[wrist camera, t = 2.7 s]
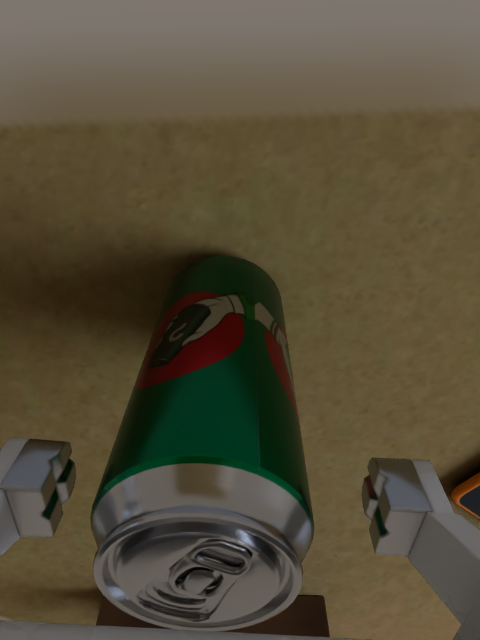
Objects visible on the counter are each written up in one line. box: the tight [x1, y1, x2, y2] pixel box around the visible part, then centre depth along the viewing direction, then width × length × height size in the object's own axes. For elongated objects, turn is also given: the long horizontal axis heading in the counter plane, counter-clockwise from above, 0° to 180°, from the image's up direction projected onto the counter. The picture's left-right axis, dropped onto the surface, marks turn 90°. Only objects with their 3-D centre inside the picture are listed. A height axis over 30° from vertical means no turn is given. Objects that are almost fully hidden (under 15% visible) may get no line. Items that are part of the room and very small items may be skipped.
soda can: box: [90, 256, 314, 631], centre depth 14 cm, size 5×5×12 cm
